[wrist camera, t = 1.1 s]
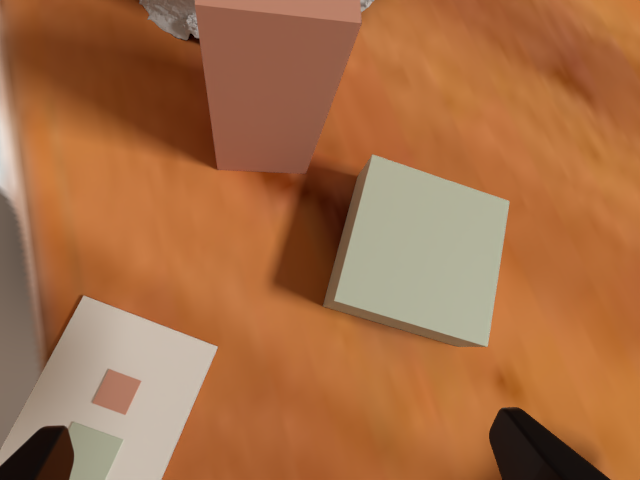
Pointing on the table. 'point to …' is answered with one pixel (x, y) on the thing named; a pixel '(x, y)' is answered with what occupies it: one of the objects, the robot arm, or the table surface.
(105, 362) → the page
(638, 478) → the table surface
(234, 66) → the tall brick
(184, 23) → the grey round stone disc
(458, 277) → the base brick
